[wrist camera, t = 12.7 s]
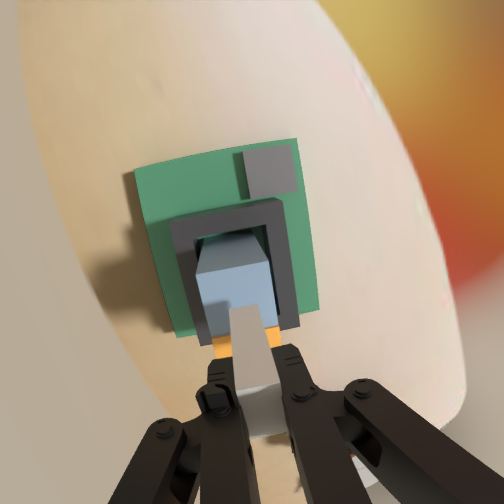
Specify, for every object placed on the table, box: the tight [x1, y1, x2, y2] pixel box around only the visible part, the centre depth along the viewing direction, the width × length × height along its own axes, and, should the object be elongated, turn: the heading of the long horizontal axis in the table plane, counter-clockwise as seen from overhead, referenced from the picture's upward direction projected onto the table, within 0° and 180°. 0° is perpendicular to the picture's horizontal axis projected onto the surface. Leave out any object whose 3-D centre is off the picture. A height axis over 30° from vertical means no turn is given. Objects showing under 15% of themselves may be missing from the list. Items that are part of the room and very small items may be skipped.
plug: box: [196, 229, 282, 359], centre depth 22 cm, size 6×4×10 cm, turn 10°
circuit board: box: [134, 138, 320, 346], centre depth 25 cm, size 16×14×5 cm
